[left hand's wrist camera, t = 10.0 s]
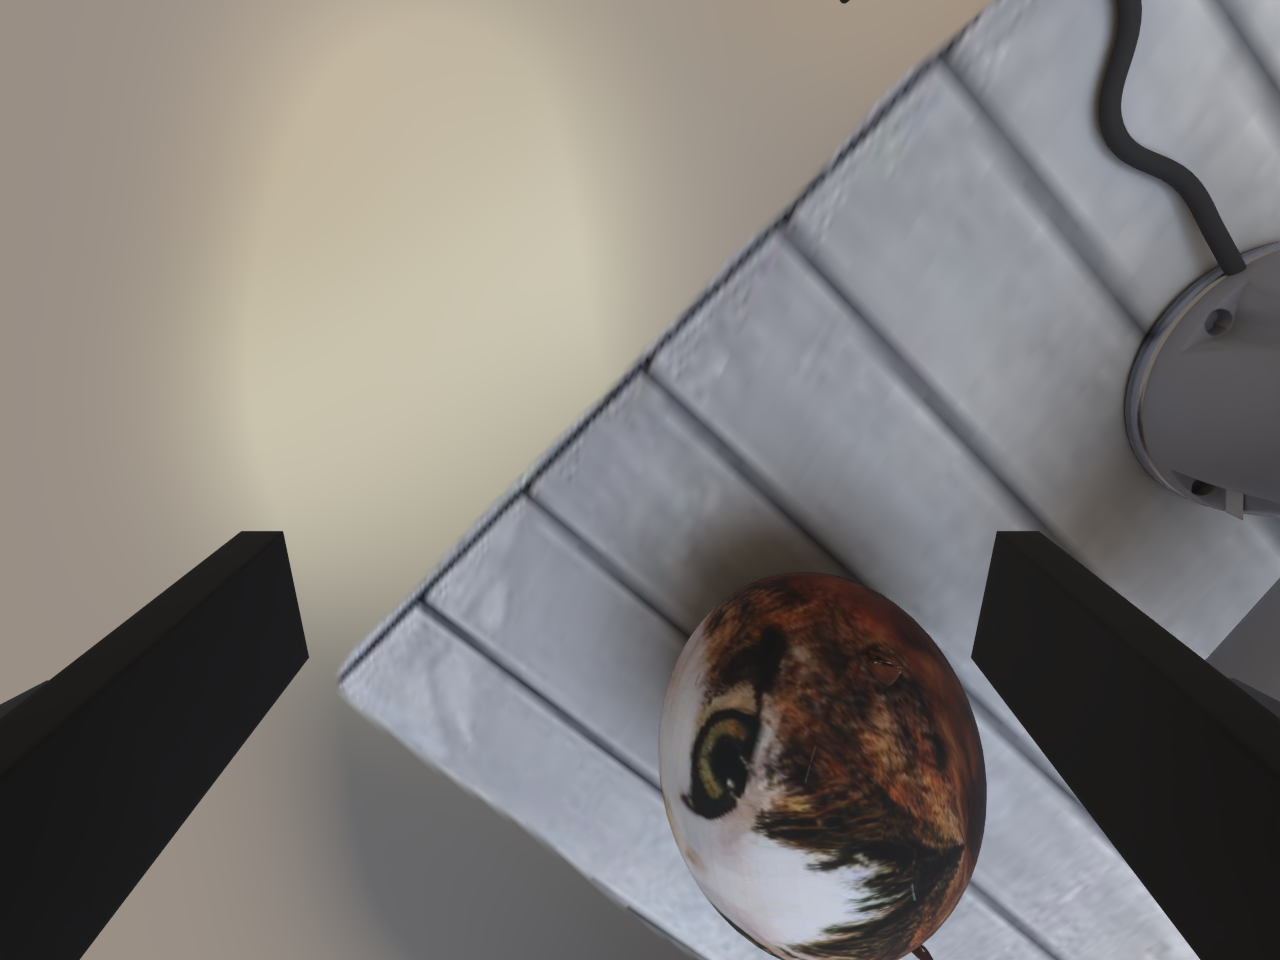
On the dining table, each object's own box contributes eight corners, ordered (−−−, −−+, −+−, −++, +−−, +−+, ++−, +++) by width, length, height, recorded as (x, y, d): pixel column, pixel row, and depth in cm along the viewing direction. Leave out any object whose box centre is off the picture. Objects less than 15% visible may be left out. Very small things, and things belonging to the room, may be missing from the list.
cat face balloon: (528, 611, 39) (816, 771, 23) (739, 493, 48) (1042, 550, 33) (617, 896, 46) (883, 1163, 30) (785, 743, 55) (1052, 887, 40)
